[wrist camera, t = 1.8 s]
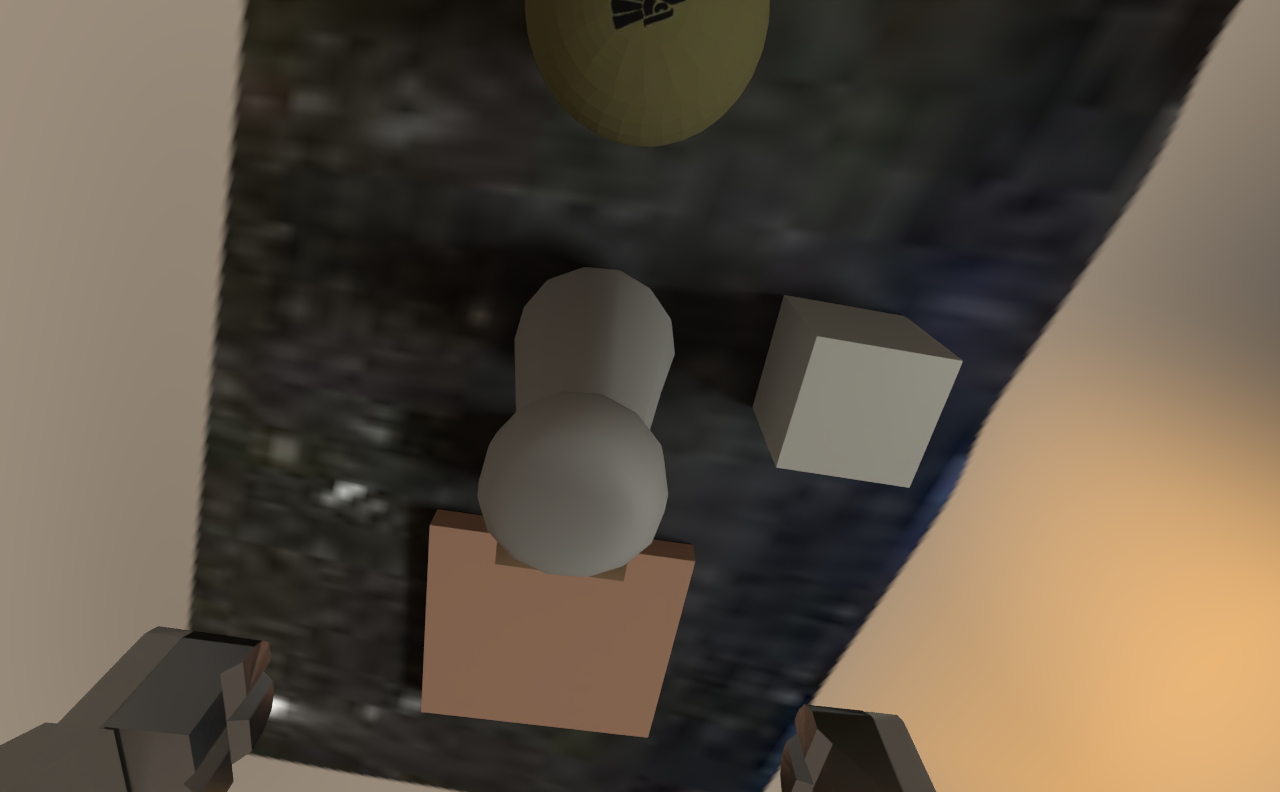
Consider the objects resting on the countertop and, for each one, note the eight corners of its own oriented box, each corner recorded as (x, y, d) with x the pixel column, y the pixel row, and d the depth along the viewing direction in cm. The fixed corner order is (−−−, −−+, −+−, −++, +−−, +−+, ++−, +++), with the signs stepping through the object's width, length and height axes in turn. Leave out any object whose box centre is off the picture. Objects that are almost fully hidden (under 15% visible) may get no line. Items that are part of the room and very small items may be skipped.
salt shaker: (501, 347, 25) (387, 555, 14) (569, 224, 23) (502, 342, 12) (625, 414, 27) (618, 655, 15) (699, 302, 25) (759, 480, 13)
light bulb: (609, 164, 23) (593, 202, 13) (528, 3, 20) (443, -81, 11) (752, 85, 22) (838, 68, 12) (682, -93, 19) (723, -270, 10)
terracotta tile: (437, 509, 29) (429, 525, 28) (692, 544, 30) (695, 561, 29) (428, 692, 34) (421, 711, 32) (647, 717, 35) (648, 737, 33)
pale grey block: (783, 294, 25) (816, 336, 20) (903, 315, 25) (962, 361, 21) (752, 406, 27) (776, 467, 22) (863, 424, 27) (909, 487, 23)
